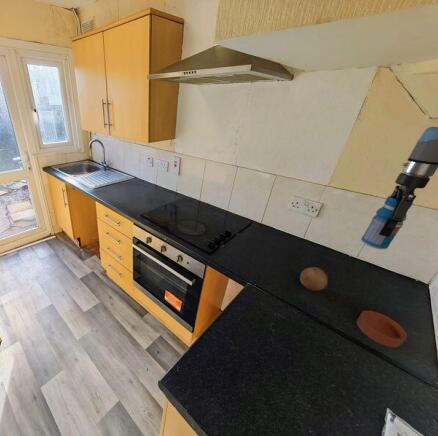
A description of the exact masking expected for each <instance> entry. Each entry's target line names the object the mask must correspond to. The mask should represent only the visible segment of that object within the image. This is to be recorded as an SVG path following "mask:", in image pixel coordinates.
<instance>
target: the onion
mask: <svg viewBox="0 0 438 436" xmlns="http://www.w3.org/2000/svg"><path fill="white" fill-rule="evenodd" d="M299 275H300V276H299V281H300V283H301V284H302V286H303V287H304V288H305V289H307V290H309V291H311V292H319V291H322V290H324V289H325V288H327V286H328V284H329V283H328V282H329V278H328V275H327V273H326V272H325V271H324V270H323V269H321V268H319V267H314V266H312V267H311V266H310V267H306V268H305V269H303V270H302V271H301V273H300V274H299Z"/></svg>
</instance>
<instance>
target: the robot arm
mask: <svg viewBox="0 0 438 436" xmlns="http://www.w3.org/2000/svg"><path fill="white" fill-rule="evenodd" d="M402 166H403V167H402V169H401V172H400V173H398V176H397V177H396V179H395V181H394V183H395V184H396V185H395V188H394V189H393V191H392V193H391V194H390V196H393V197H394V198H396V202H397V204H396V205H395V207H394V209H393V212H392V214H391V217H390V218H387V221H386V223H385V225H384V226H383V228H382V230H381V231H380V233H379V235H382V236H386V237H389V236H390V235H391V233H392V231H393V230H394V228H395V227H396V225H397V223H398V222H402V221H403V219H404V217H405V215H407V213H408V212H409V210H410V209H409V208H411V207H412V205H413V204H412V202H413V203H414V200H415V199H416V198H417V195H416V194H415V191H416V189H425V188H426V187H427V185H428V183H429V182H430V180H431V177H433V176H434V175H435V173H436V171H437V170H438V126H429V127H427V128H426V129H425V130H424V131H423V132H422V134H421V135H420V137H419V138H418V140H417V141H416V144H415V145H414V147H413V149H412V150H411V153H410V155H409V156H408V158H407V160H406V162H404V163H402ZM395 196H396V197H395ZM411 204H412V205H411ZM383 206H385V204H383ZM410 206H411V207H410ZM396 217H397V218H396ZM403 222H404V221H403Z"/></svg>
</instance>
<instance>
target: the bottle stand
mask: <svg viewBox="0 0 438 436" xmlns="http://www.w3.org/2000/svg"><path fill="white" fill-rule="evenodd" d="M356 325H357V328H359V330H360V331H361V332H362V333H363V335H365V336H366V337H368V338H370V339H371V340H372V341H374V342H376V343H378V344H380V345H382V346H385V347H389V348H399V347H401V345H403V344H404V343H405V341H406V340H407V339H408V334H407V331H406V330H405V329H404V328H403V327H402V326H401V325H400V323H398V322H397V321H396V320H394V319H392V318H391V317H388V316H387V315H385V314H383V313H380V312H377V311H373V310H363V311H362V312H361V313H360V314H359V316H358V317H357V319H356Z"/></svg>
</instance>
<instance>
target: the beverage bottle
mask: <svg viewBox="0 0 438 436" xmlns="http://www.w3.org/2000/svg"><path fill="white" fill-rule="evenodd" d="M395 197H396V196H395ZM383 203H384V204H383V206H382V207H380V208H378V209H377V210H376V212H375V214H374V215H373V216H372V218H371V221H370V223H369V225H368V226H367V228H366V230H365V232H364V234H363V236H362V237H361V238H360V241H361V243H363V244H364V245H365V246H368V247H371V248H373V249H377V250H387V249H388V248H389V247H390V244H392V242H393V240H394V238H395V237H396V236H397V234H398V233H399V231H400V230H401V228H402V227H403V225H404V222H405V221H406V220H407V216H408V215H407V214H406V215H405V217H404V219H403V221H402V222H398V223H397V225H396V227H395V228H394V230H393V231H392V233H391V235H390V236H389V237H386V236H382V235H379V233H380V231H381V230H382V228H383V226H384V225H385V223H386V221H387V218H390V217H391V214H392V212H393V209H394V207H395V205H396V204H397V202H396V198H394V197H393V196H391V195H388V196H387V197H386V199H385V201H384V202H383ZM413 204H414V201H413V202H412V204H411V206H410V208H411V207H412V206H413ZM384 205H385V206H384ZM410 208H409V209H408V210H410ZM396 218H397V217H396Z"/></svg>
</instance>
